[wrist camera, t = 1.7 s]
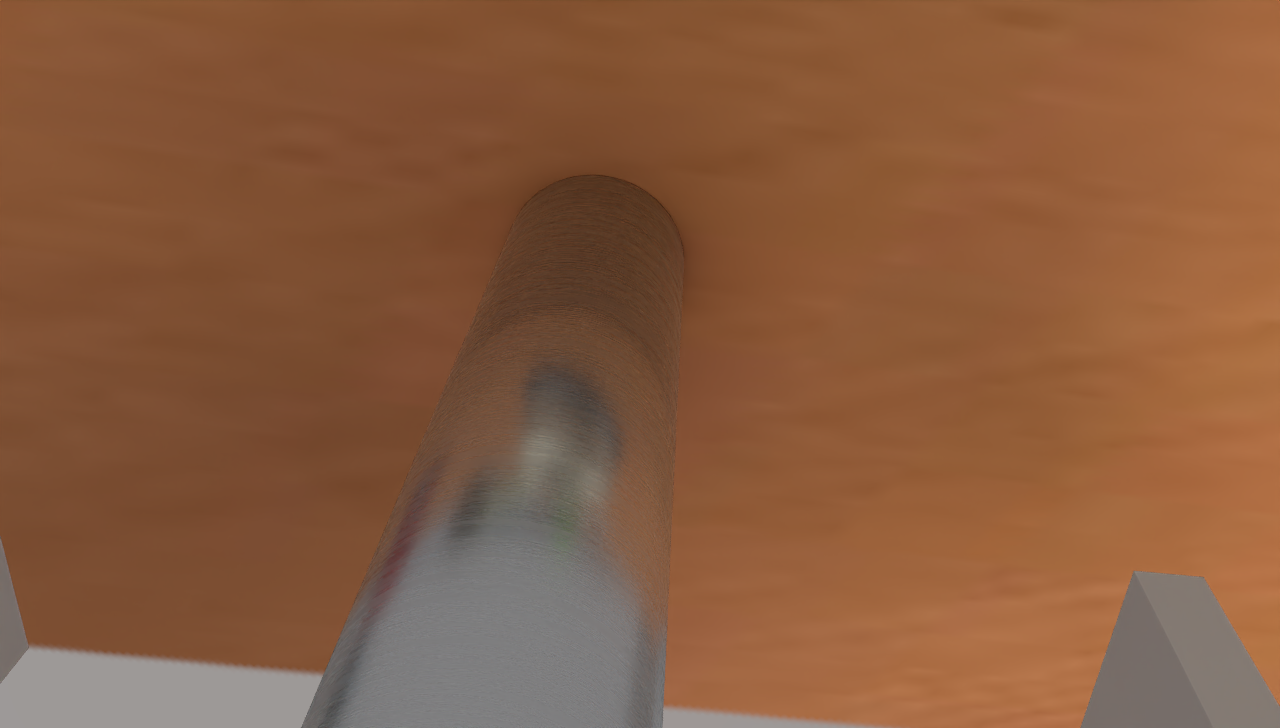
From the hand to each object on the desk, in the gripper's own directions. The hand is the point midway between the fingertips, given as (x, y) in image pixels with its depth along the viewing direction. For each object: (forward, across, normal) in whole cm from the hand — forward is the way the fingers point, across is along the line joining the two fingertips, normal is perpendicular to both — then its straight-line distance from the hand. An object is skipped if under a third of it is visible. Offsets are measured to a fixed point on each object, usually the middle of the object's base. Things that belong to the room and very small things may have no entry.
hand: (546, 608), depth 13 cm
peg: (+10, 0, 0) cm, 10 cm away
